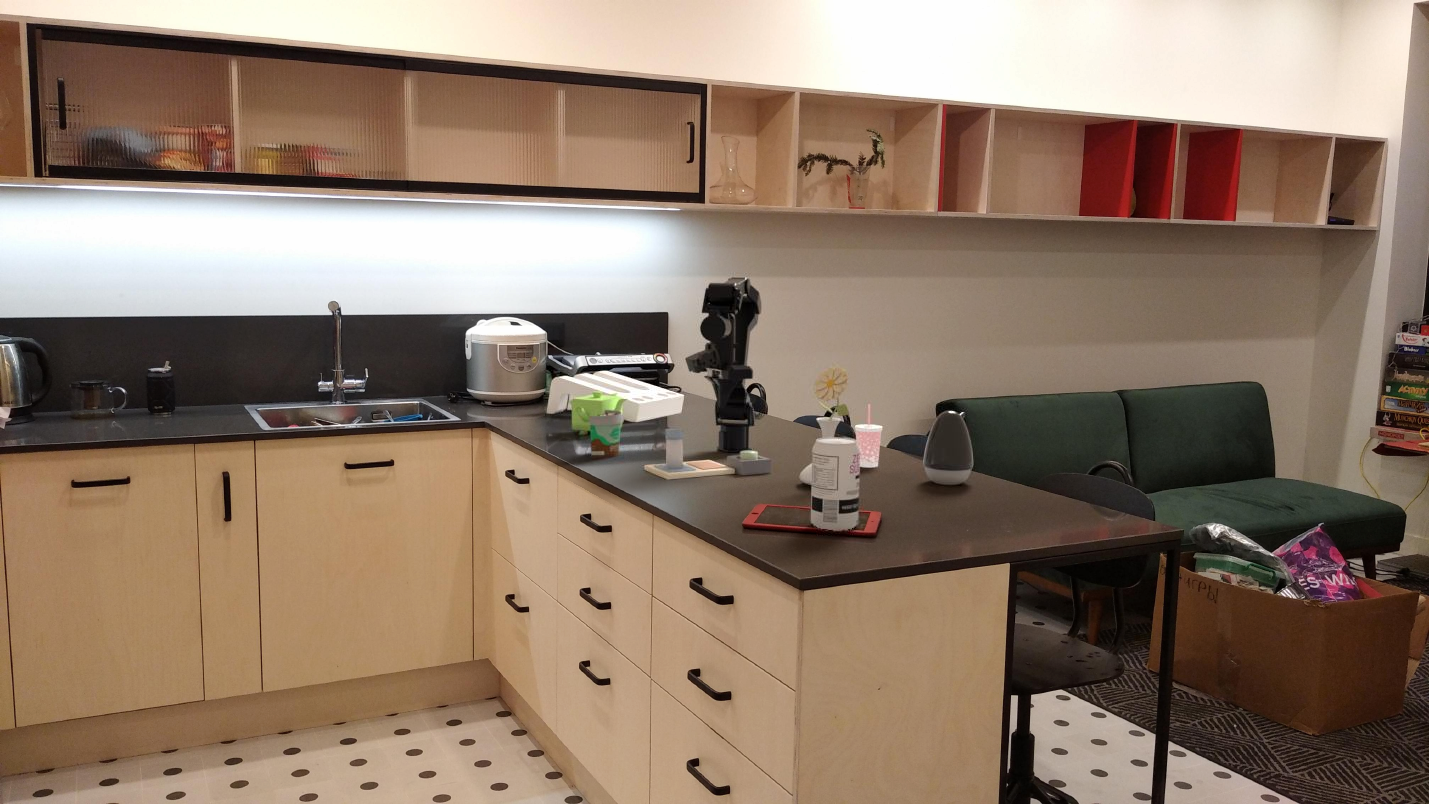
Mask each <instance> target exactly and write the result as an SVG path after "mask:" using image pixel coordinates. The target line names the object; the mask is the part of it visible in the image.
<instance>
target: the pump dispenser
mask: <svg viewBox="0 0 1429 804" xmlns="http://www.w3.org/2000/svg"><path fill="white" fill-rule="evenodd" d="M965 417H966V413H965V412H963V411H962V412H960V413H958V412H957V411H954V410H945V411H943V412H941V413H940V414H938V416H937V417H936V419H935V421H934V422H933V425H932V426H931V429H930V432H929V434H928V436H927V437H928V438H927V441H926V444H925V447H924V448H925V449H924V455H923V461H922V462H923V463H922V465H923V467H924V470H925V473H926V476H927V477H928V479H930V481H932V482H934V483H935V484H938V485H942V486H944V485H945V486H957V485H960V484H962V483H964V482H965V481H967V479H969V476H970V474H971V471H972V469H973V467H974V455H973V454H974V453H973V448H972V441H971V437H970V433H969V430H968V427H967V425H966V423H965V420H964V418H965Z"/></svg>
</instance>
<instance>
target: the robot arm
mask: <svg viewBox="0 0 1429 804" xmlns="http://www.w3.org/2000/svg"><path fill="white" fill-rule="evenodd" d="M703 296H704V297H703V302H702V308H701V314H708V315H707V316H706V317H704V318H703V320H702V321H701V323H700V326H699V331H700V334H701V336H702V338H704V339H705V340H706V341H709V342H705V343H706V344H705V345H704V350H701V351H699V352H696V353H693V354H691V355H688V356H687V357H685V358H684V360H685V363H686V366H687V368H688V371H689V372H690V373H691V372H692V373H695V374H700V373H706V375H704V376H703V378H705V379H706V380H708V382H710V383H711V386H712V388H713V391H714V392H713V393H714V395H715V398H716V401H715V403H714V417H715V426H720V430H719V431H718V446H717V447H716V448H717V450H719V451H723V452H726V453H740V452H741V451H753V449H752V448H750V447H749V444H750V442H749V441H750V427H751V428H752V427H755V426H756V424H755V423H756V422H755V421H756V420H755V412H754V411H755V409H754V407H753V405H752V401H751V397H750V396H749V393H748V392H747V389H746V380H752V379H754V369H753V368H752V367H751V366H749V365H748V358H749V348H750V338H751V337H750V336H751V332H752V330H754V328H755V327H756V325H758V321H759V315H761V314H762V299H761V294H760V292H759V291H758V290H757V289H756V288H755V287H754V286H753V285H752V284H751V280H750V278H748V277H742V276H741V277H731V278H730V277H729V278H728V279H727V280H726V281H725V282H710V283H709V284H708V286H707V287H706V288H705V290H704V295H703Z"/></svg>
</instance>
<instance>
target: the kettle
mask: <svg viewBox="0 0 1429 804" xmlns="http://www.w3.org/2000/svg"><path fill="white" fill-rule="evenodd" d="M592 393H593V395H589V396H583V397H578V398H573V399H572V400H571V401H569V400H568V402H570V404H571V405H572V410H571V430H575V431H579V433H578V435H582V436H585V435H588V433H589V432H590V425H589V421H590V416H597V415H602V414H604V412H605V410H615V411H620V412H621V414H622V404H623V403H624V402H625V401H626V400H628V399H622V397H620V396H616V395H617V394H618V393H613V394H612V395H611V396H607V395H601V394H602V392H600V391H594V392H592ZM621 428H623V422H622V423H621Z"/></svg>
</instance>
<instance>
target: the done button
mask: <svg viewBox="0 0 1429 804" xmlns="http://www.w3.org/2000/svg"><path fill="white" fill-rule="evenodd" d="M739 453H740V454H739V455H740V459H743V460H754V459H758V455H759V452H758V451H757V450H752V451H741V452H739Z"/></svg>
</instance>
